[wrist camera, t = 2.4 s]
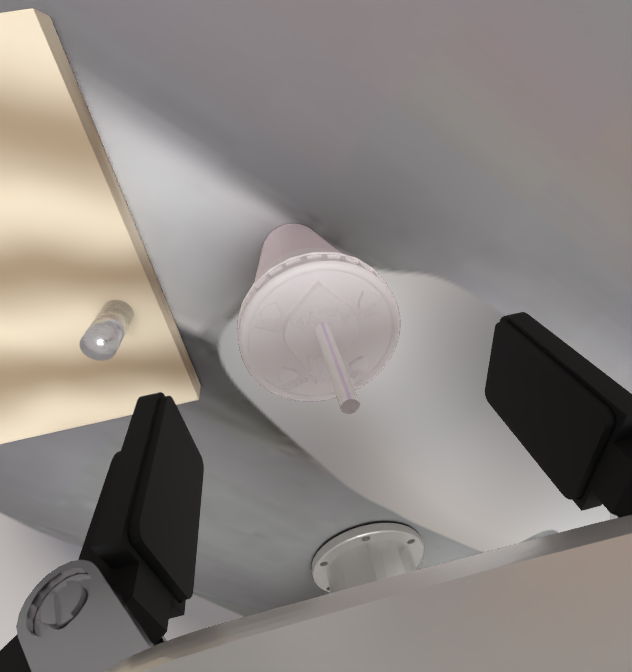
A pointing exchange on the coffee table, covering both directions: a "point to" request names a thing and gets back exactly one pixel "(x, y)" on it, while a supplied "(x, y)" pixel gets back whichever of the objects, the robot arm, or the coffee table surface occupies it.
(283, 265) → the smoothie
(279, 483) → the coffee table surface
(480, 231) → the coffee table surface
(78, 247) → the pin board
